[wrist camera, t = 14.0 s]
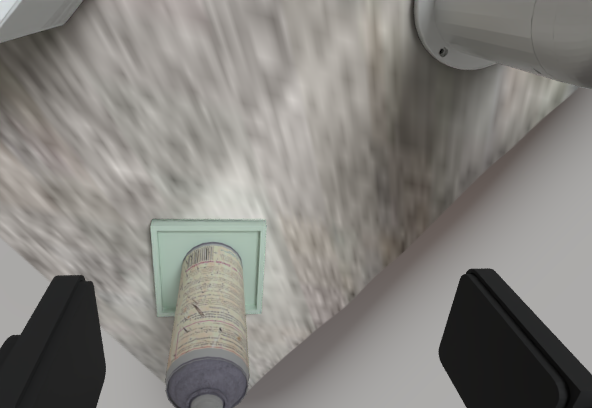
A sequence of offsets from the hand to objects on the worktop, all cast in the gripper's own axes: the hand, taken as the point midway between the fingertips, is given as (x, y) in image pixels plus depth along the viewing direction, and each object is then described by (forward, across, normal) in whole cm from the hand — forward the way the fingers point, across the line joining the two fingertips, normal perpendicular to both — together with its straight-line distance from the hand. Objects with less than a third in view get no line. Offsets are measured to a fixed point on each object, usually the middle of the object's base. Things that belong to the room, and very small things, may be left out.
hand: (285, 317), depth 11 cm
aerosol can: (+34, +3, +22) cm, 40 cm away
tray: (+34, +3, +22) cm, 41 cm away
